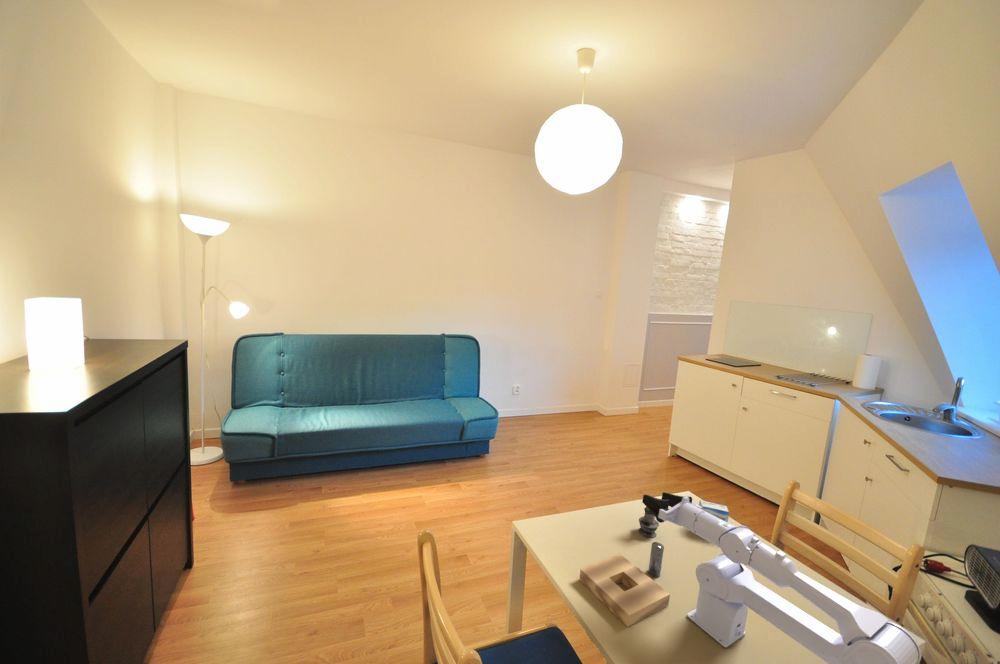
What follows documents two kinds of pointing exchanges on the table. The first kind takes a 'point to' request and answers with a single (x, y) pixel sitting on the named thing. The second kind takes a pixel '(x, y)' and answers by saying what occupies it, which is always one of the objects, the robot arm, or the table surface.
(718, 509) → the medicine box
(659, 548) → the metal peg
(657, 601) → the oak hole block
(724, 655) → the table surface
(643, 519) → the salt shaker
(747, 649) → the table surface
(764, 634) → the table surface
